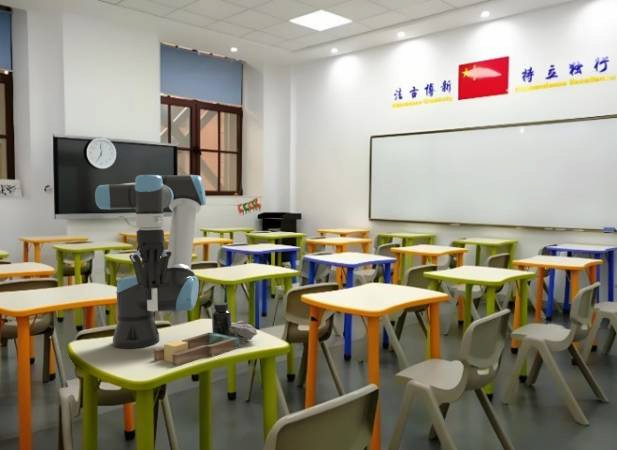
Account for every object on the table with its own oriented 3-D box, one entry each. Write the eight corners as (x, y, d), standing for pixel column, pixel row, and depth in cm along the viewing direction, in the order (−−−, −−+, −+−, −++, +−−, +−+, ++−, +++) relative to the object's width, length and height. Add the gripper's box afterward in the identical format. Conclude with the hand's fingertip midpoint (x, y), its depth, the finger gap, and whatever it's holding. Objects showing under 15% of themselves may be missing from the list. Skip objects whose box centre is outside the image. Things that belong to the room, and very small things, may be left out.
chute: (150, 358, 154) (150, 349, 153) (209, 341, 173) (209, 332, 173) (181, 366, 145) (180, 356, 145) (239, 347, 165) (239, 338, 165)
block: (164, 360, 152) (163, 344, 152) (177, 356, 156) (177, 340, 156) (175, 363, 149) (174, 346, 149) (188, 358, 153) (187, 342, 153)
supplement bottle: (219, 334, 182) (218, 301, 182) (235, 335, 180) (234, 302, 179) (208, 338, 176) (207, 304, 176) (225, 340, 173) (224, 305, 173)
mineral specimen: (242, 354, 174) (233, 354, 165) (227, 337, 177) (217, 336, 167) (262, 333, 175) (254, 332, 165) (247, 317, 177) (238, 315, 168)
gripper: (138, 230, 137) (141, 316, 138) (177, 228, 148) (179, 308, 149) (122, 229, 142) (124, 313, 143) (160, 227, 152) (162, 305, 153)
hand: (152, 310), depth 146 cm, fingers closed
